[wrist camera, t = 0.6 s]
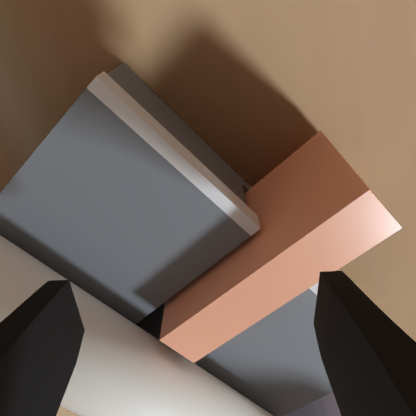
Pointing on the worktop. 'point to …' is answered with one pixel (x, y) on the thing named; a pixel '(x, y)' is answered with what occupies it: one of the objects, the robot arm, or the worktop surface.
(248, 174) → the worktop surface
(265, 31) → the worktop surface
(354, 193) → the salmon pink slab
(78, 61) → the worktop surface
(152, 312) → the dispenser
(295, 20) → the worktop surface
